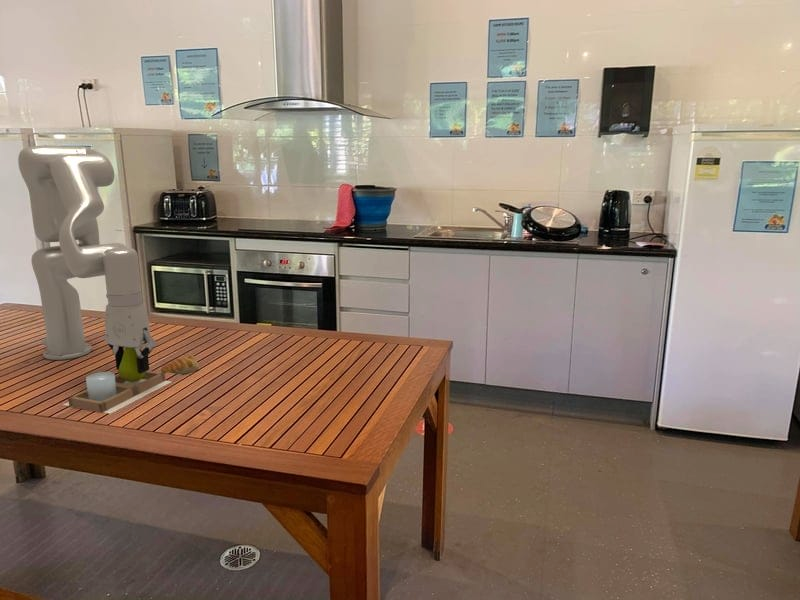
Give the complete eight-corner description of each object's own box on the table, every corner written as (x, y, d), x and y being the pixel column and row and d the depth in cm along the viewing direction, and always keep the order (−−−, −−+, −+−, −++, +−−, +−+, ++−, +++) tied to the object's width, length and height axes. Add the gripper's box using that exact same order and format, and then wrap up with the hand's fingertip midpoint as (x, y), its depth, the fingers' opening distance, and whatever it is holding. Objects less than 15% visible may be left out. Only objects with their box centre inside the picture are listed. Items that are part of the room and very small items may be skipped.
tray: (63, 409, 137) (61, 396, 136) (128, 379, 155) (127, 367, 154) (110, 418, 132) (109, 405, 132) (172, 386, 151) (171, 374, 150)
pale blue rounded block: (83, 403, 137) (79, 379, 136) (103, 394, 143) (100, 370, 141) (103, 407, 135) (100, 382, 134) (123, 397, 141) (120, 373, 139)
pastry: (168, 380, 155) (166, 366, 154) (156, 373, 160) (155, 360, 159) (201, 370, 162) (199, 357, 161) (189, 364, 166) (187, 351, 166)
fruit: (130, 387, 144) (124, 340, 141) (114, 382, 147) (109, 336, 144) (153, 379, 149) (148, 333, 146) (137, 374, 152) (133, 329, 149)
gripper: (84, 299, 142) (94, 370, 147) (142, 306, 136) (150, 379, 141) (109, 292, 149) (117, 360, 153) (165, 299, 143) (171, 369, 148)
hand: (133, 369), depth 147 cm, fingers closed on fruit, 5 cm apart
